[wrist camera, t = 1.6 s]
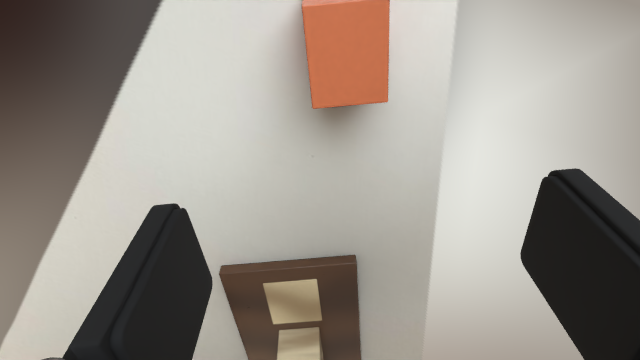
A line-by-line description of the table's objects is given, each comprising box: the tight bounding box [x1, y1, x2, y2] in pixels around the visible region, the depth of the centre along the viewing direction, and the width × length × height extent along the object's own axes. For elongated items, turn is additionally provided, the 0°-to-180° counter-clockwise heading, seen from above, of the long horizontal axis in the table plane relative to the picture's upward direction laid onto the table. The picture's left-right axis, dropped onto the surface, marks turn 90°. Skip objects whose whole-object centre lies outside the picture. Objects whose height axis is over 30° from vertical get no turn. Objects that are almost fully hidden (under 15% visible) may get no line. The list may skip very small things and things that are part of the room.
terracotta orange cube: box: [302, 0, 390, 109], centre depth 20 cm, size 5×4×5 cm
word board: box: [219, 255, 361, 360], centre depth 38 cm, size 22×12×1 cm, turn 5°
